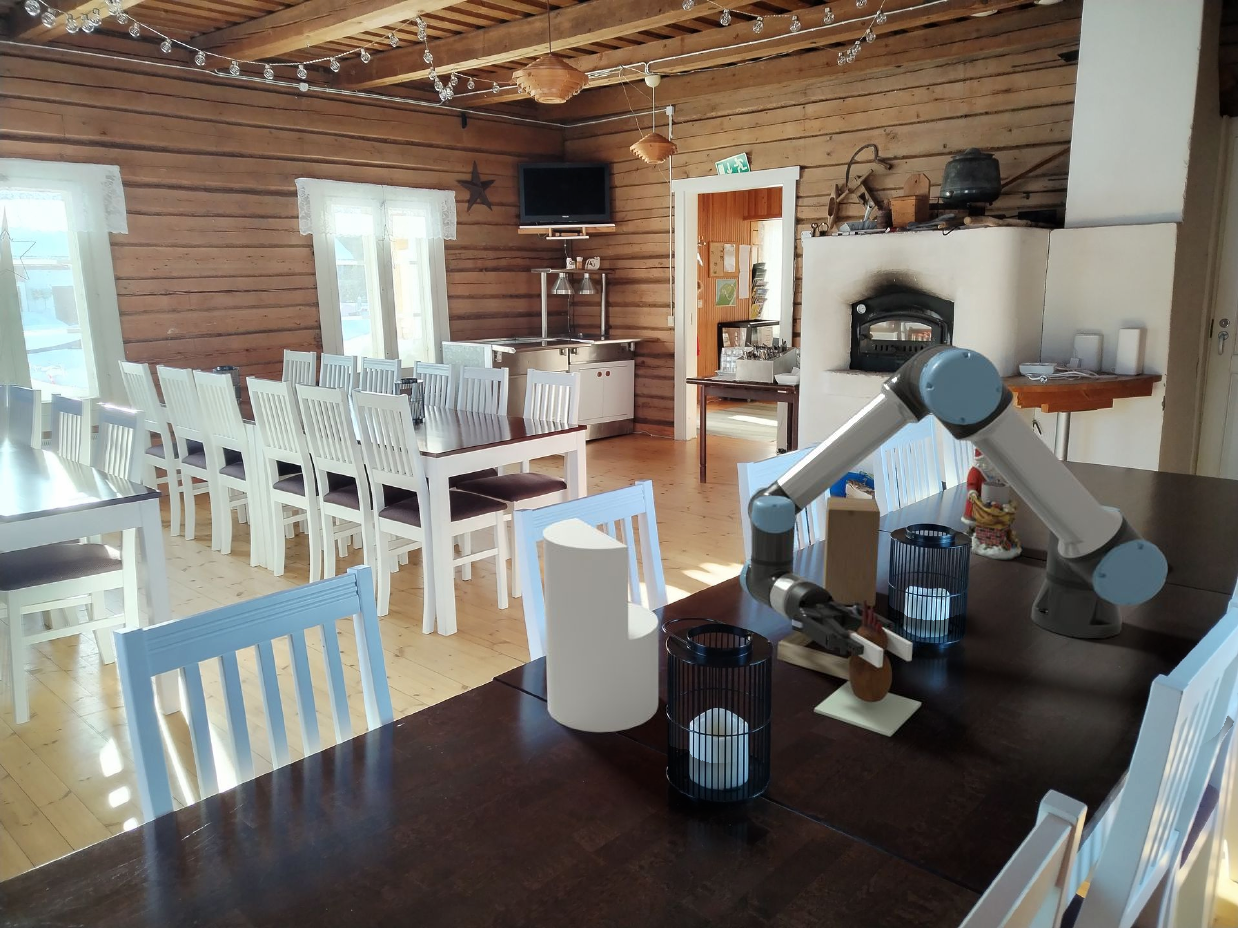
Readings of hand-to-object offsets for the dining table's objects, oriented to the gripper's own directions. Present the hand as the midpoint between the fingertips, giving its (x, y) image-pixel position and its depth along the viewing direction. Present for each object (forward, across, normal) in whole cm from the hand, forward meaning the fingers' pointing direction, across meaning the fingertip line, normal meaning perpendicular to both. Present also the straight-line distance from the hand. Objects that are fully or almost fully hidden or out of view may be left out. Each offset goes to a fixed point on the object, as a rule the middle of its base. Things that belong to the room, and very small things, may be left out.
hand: (895, 655), depth 128 cm
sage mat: (-5, 0, -11) cm, 12 cm away
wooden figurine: (-5, 0, -9) cm, 11 cm away
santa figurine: (-58, -78, -11) cm, 98 cm away
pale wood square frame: (-23, -6, -11) cm, 27 cm away
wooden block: (-46, -27, -11) cm, 54 cm away
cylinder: (-23, +37, -11) cm, 45 cm away
